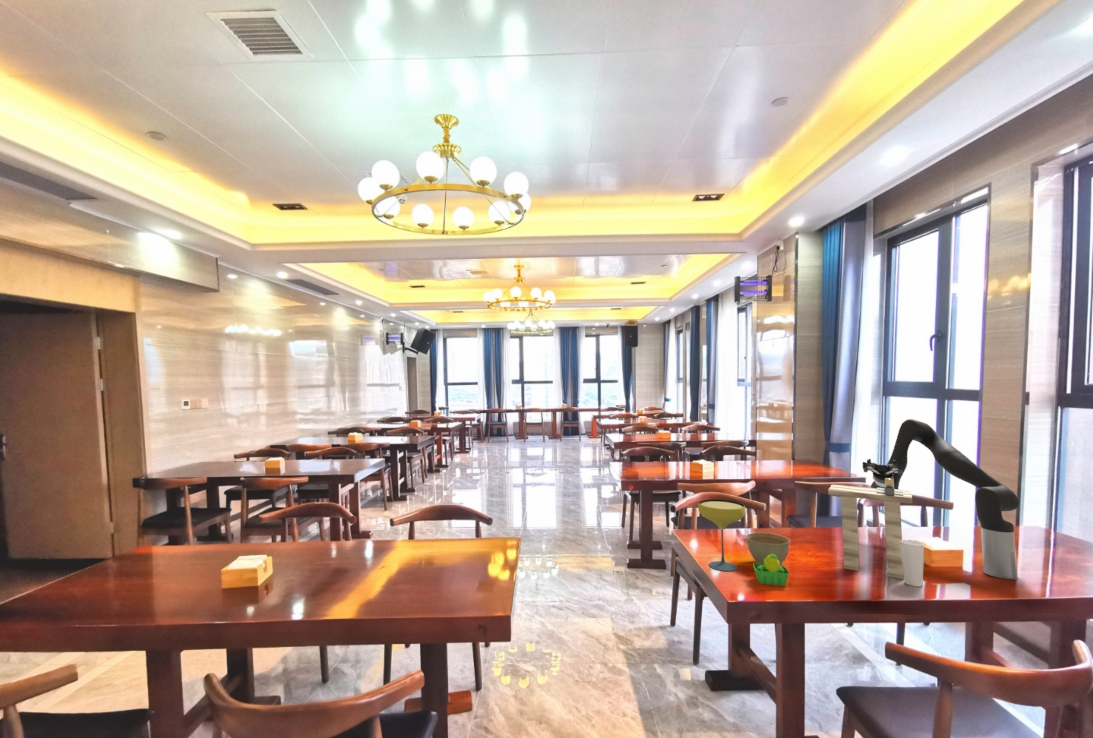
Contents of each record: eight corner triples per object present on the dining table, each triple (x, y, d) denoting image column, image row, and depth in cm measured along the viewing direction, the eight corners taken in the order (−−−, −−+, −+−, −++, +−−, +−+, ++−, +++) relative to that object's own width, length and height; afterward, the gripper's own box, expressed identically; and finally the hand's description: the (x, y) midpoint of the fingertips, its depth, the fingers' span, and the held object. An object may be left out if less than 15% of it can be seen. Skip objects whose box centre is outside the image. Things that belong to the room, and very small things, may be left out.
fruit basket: (785, 579, 174) (784, 549, 175) (791, 589, 166) (789, 557, 166) (752, 576, 177) (751, 546, 178) (756, 586, 169) (755, 554, 169)
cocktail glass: (700, 572, 182) (698, 507, 184) (699, 557, 199) (697, 498, 201) (749, 577, 177) (747, 510, 178) (744, 561, 194) (742, 500, 195)
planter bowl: (780, 558, 197) (779, 532, 197) (797, 573, 181) (796, 544, 181) (741, 557, 198) (740, 531, 199) (754, 571, 182) (753, 543, 183)
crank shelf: (835, 562, 192) (831, 483, 194) (915, 576, 176) (910, 490, 178) (831, 572, 180) (828, 488, 182) (917, 589, 165) (912, 496, 167)
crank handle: (885, 485, 189) (884, 471, 190) (894, 485, 188) (893, 471, 188) (885, 494, 172) (884, 479, 172) (894, 495, 170) (893, 479, 170)
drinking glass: (902, 579, 174) (900, 538, 175) (925, 583, 169) (923, 542, 170) (901, 585, 169) (899, 543, 169) (925, 589, 164) (923, 546, 165)
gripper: (863, 467, 217) (861, 452, 206) (902, 469, 208) (901, 454, 197) (864, 482, 213) (862, 468, 202) (903, 485, 205) (903, 470, 194)
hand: (881, 461), depth 200 cm, fingers open, 8 cm apart
